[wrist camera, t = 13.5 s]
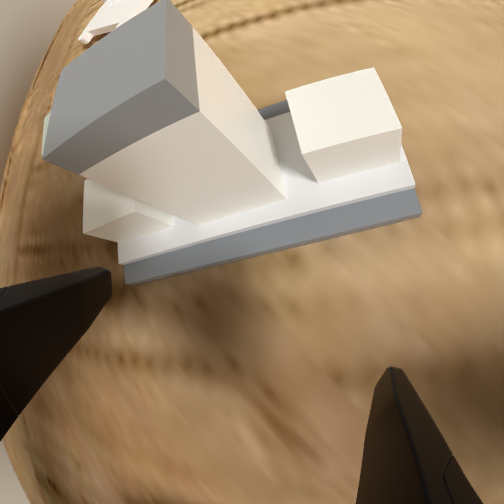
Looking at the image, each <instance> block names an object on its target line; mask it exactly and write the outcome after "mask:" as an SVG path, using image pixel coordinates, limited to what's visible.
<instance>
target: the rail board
mask: <svg viewBox="0 0 504 504" xmlns="http://www.w3.org/2000/svg"><path fill="white" fill-rule="evenodd" d="M285 94H286V98H287V100H286V101H283V102H280V103H277V104H274V105H271V106H268V107H265V108H262V109H259V110H258V112H259V113H260V115H261V116H262V117H263V119H264V120H265V122H266V123H267V124H268V126H269V127H270V129H271V130H272V134H273V138H274V143H275V147H276V151H277V156H278V160H279V165H280V169H281V174H282V179H283V183H284V188H285V192H286V197H287V200H284V201H281V202H277V203H274V204H270V205H267V206H263V207H260V208H256V209H253V210H250V211H246V212H243V213H239V214H236V215H233V216H229V217H226V218H223V219H219V220H216V221H213V222H210V223H206V224H203V225H200V226H198V225H196V224H194V223H191V222H189V221H187V220H184V219H182V218H180V217H177V216H175V215H173V214H170V213H168V212H166V211H163V210H161V209H159V208H156V207H154V206H152V205H149V204H147V203H144V202H142V201H140V200H137V199H135V198H133V197H130V196H128V195H126V194H123V193H121V192H119V191H116V190H114V189H112V188H109V187H107V186H104V185H102V184H100V183H97V182H95V181H93V180H90V179H87V180H85V181H84V201H83V234H87V235H91V236H95V237H98V238H102V239H106V240H110V241H114V242H118V262H119V264H121V265H124V273H125V284H129V285H136V284H140V283H145V282H149V281H153V280H158V279H162V278H166V277H170V276H175V275H179V274H183V273H188V272H192V271H196V270H200V269H205V268H209V267H213V266H217V265H222V264H226V263H230V262H234V261H239V260H243V259H247V258H251V257H256V256H260V255H264V254H268V253H272V252H277V251H281V250H285V249H289V248H293V247H298V246H302V245H306V244H310V243H314V242H319V241H323V240H327V239H331V238H335V237H339V236H344V235H348V234H352V233H356V232H360V231H364V230H369V229H373V228H377V227H381V226H385V225H389V224H393V223H397V222H402V221H406V220H410V219H414V218H418V217H420V216H421V214H422V211H421V208H420V204H419V201H418V198H417V194H416V191H415V182H414V179H413V176H412V173H411V170H410V167H409V164H408V161H407V158H406V156H405V153H404V150H403V148H402V145H401V138H402V127H401V124H400V122H399V120H398V117H397V115H396V113H395V111H394V108H393V106H392V104H391V102H390V99H389V97H388V95H387V93H386V91H385V89H384V87H383V85H382V83H381V81H380V79H379V76H378V75H377V73H376V71H375V69H374V67H373V68H369V69H365V70H360V71H356V72H352V73H348V74H344V75H340V76H336V77H333V78H329V79H325V80H322V81H318V82H315V83H311V84H308V85H305V86H301V87H298V88H295V89H292V90H289V91H285Z"/></svg>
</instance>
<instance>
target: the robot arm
mask: <svg viewBox="0 0 504 504" xmlns="http://www.w3.org/2000/svg"><path fill="white" fill-rule="evenodd" d="M111 294H112V282H111V273H110V271H109V270H108V269H105V268H103V267H94V268H89V269H85V270H80V271H76V272H71V273H66V274H62V275H57V276H53V277H48V278H44V279H39V280H35V281H30V282H26V283H21V284H17V285H13V286H9V287H4V288H0V441H1V440H2V438H3V437H4V436H5V434H6V433H7V431H8V430H9V429H10V427H11V426H12V424H13V423H14V422H15V420H16V419H17V418H18V415H20V413H21V412H22V411H23V409H24V408H25V407H26V405H27V404H28V403H29V402H30V400H31V399H32V398H33V396H34V395H35V394H36V392H37V391H38V390H39V389H40V387H41V386H42V385H43V383H44V382H45V381H46V380H47V378H48V377H49V376H50V375H51V373H52V372H53V371H54V370H55V368H56V367H57V366H58V365H59V364H60V362H61V361H62V360H63V359H64V357H65V356H66V355H67V354H68V353H69V351H70V350H71V349H72V348H73V347H74V345H75V344H76V343H77V342H78V341H79V339H80V338H81V337H82V336H83V335H84V334H85V332H86V331H87V330H88V328H89V327H90V326H91V324H92V323H93V321H94V320H95V318H96V317H97V316H98V314H99V313H100V311H101V310H102V308H103V307H104V306H105V304H106V303H107V301H108V300H109V299H110V297H111ZM452 455H453V454H452V452H451V450H450V448H449V446H448V445H447V443H446V441H445V439H444V438H443V436H442V434H441V432H440V431H439V429H438V427H437V426H436V424H435V422H434V421H433V419H432V417H431V415H430V414H429V412H428V410H427V409H426V407H425V406H424V404H423V402H422V401H421V399H420V397H419V396H418V394H417V392H416V391H415V389H414V388H413V386H412V384H411V383H410V381H409V380H408V378H407V376H406V375H405V373H404V372H403V370H402V369H400V368H396V367H392V366H390V367H388V368H387V369H386V371H385V372H384V374H383V375H382V377H381V378H380V380H379V381H378V383H377V385H376V387H375V390H374V395H373V400H372V405H371V410H370V415H369V420H368V424H367V429H366V434H365V441H364V450H363V459H362V466H361V474H360V481H359V487H358V493H357V499H356V504H483V503H482V501H481V499H480V498H479V496H478V495H477V493H476V492H475V490H474V489H473V487H472V486H471V484H470V483H469V481H468V480H467V478H466V476H465V474H464V473H463V471H462V469H461V468H460V466H459V464H458V462H457V461H456V459H455V457H454V456H452Z"/></svg>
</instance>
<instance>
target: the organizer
mask: <svg viewBox="0 0 504 504" xmlns="http://www.w3.org/2000/svg"><path fill="white" fill-rule="evenodd" d="M102 1H104V2H105V3H104V4H103V6H102V7H101V8H100V9H99V11H98V12H97V13H96V15H95V16H94V17H93V19H92V20H91V21H90V23H89V24H88V25H87V27H86V28H85V30H84V31H83V32H82V34H81V35H80V37H79V38H78V40H79V41H80V42H82V43H83V44H87V43H89V42H90V40H91V39H92V38H93V36H96V35H100V34H104V33H108V32H112V31H113V30H115V29H116V28H118V27H119V26H120V25H122V24H123V23H125V22H127V21H128V20H130V19H131V18H133V17H134V16H136V15H138V14H139V13H141V12H142V11H144V10H146V9H147V8H148V7H149V6H150V4H151V3H152V2H153V1H154V0H102Z"/></svg>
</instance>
